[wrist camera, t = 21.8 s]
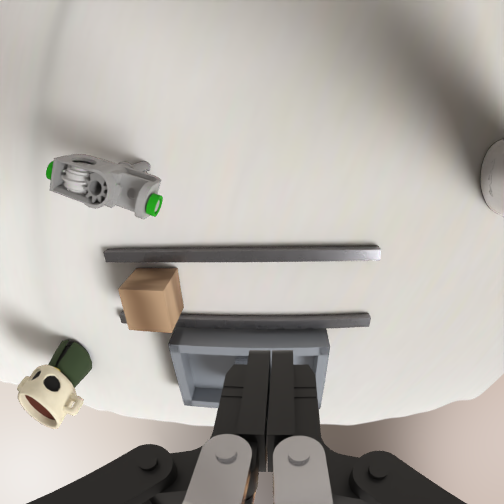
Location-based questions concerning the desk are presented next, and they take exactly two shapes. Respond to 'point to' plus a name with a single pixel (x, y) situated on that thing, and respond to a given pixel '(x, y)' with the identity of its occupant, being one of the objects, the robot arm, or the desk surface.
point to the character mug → (55, 385)
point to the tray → (238, 344)
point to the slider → (152, 299)
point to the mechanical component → (106, 183)
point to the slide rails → (255, 256)
